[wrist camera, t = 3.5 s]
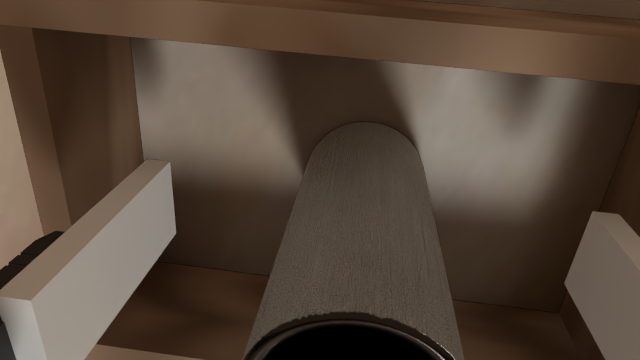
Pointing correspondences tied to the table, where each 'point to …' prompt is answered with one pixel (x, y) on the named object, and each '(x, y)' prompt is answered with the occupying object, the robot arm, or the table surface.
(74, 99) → the box frame
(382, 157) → the gray cylindrical cup
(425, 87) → the table surface
